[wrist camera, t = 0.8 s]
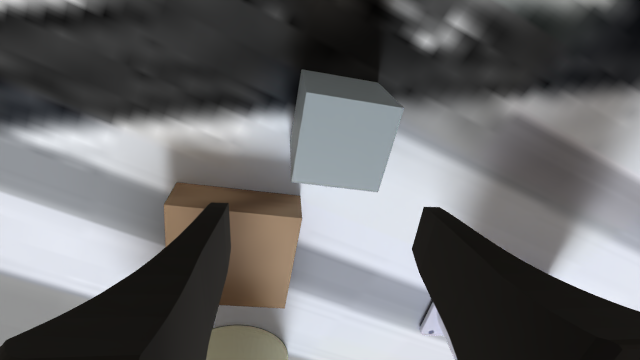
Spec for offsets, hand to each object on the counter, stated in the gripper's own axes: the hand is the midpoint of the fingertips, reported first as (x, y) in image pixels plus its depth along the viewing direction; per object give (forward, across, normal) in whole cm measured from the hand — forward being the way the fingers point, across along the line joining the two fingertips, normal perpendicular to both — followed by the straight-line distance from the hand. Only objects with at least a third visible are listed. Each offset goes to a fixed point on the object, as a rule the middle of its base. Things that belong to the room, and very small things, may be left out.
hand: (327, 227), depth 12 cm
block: (+10, -1, -1) cm, 10 cm away
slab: (+10, +5, +8) cm, 14 cm away
